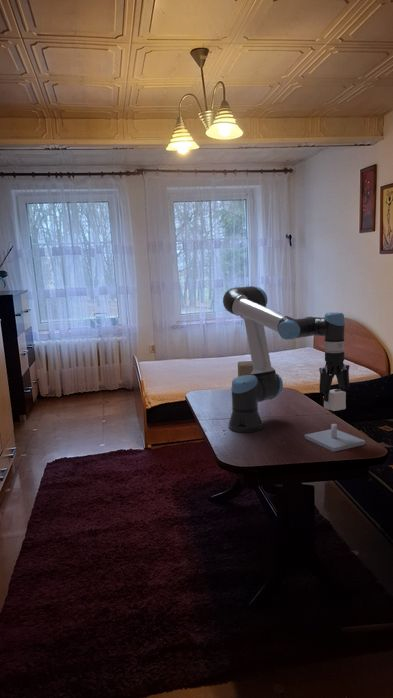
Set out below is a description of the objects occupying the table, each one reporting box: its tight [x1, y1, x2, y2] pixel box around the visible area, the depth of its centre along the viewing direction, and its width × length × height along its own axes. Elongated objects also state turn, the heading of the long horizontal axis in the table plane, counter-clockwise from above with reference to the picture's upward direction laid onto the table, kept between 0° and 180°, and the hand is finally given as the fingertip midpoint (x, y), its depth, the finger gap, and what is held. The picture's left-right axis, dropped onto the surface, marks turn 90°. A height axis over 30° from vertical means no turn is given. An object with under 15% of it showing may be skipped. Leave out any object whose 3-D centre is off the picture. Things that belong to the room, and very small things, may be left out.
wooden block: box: [237, 360, 253, 377], centre depth 264 cm, size 10×10×20 cm
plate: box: [304, 423, 366, 453], centre depth 188 cm, size 16×18×7 cm
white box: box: [323, 388, 347, 412], centre depth 186 cm, size 6×6×8 cm
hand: (334, 407), depth 186 cm, fingers closed on white box, 6 cm apart
